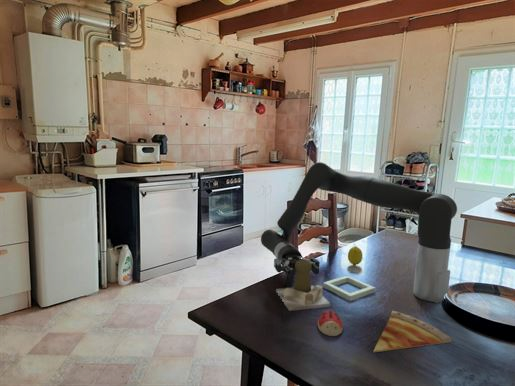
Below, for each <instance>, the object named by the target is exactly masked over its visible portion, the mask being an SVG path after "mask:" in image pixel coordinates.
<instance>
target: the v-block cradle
mask: <svg viewBox="0 0 515 386" xmlns="http://www.w3.org/2000/svg"><path fill="white" fill-rule="evenodd" d="M323 289H324V287H323V285H318V284H316V285H315V286H314V285H311V291H310V292H309V293H305V292H302V291H298V290H294V286H292V287H282V288H276V290H275V292H276V294H277V293H278V294H277V295H278V297H279V296H280V297H279V298H280V300H281V299H282V300H281V301H282V302H284V303H283V304H284V306H285V307H286V308H287V310H288V311H289V312H290V311H291V312H292V311H301V310H309V309H310V310H312V309H319V308H320V309H321V308H329V307H331V303H330V301H328V299H326V298H325V296H324V295H323Z"/></svg>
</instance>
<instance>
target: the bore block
mask: <svg viewBox="0 0 515 386" xmlns="http://www.w3.org/2000/svg"><path fill="white" fill-rule="evenodd" d="M345 283H349V284H352V285H354V286H356V287H358V288H360V289H359V290H358V289H357V290H356V291H353V292H348V291H347V290H345V289H342V288H341V287H338V286H339V285H342V284H345ZM322 286H323V289H326V290H328V291H329V292H332V293H333V294H335V295H338V296H340V297H342V298H343V299H345V300H347V301H350V302H351V301H353V300H357V299H359V298H362V297H365V296H368V295H370V294H374V293H376V287H374V286H372V285H370V284H368V283H365V282H363V281H361V280H359V279H357V278H355V277H352V276H351V275H344V276H341V277H338V278H334V279H331V280H328V281H327V280H326V281H324V282H322Z"/></svg>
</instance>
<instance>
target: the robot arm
mask: <svg viewBox="0 0 515 386" xmlns="http://www.w3.org/2000/svg"><path fill="white" fill-rule="evenodd" d="M318 189H319V190H322V191H326V192H333V193H337V194H342V195H345V196H348V197H351V198H352V199H355V200H358V201H361V202H363V203H366V204H370V205H373V206H376V207H381V208H385V209H395V210H397V209H398V210H405V211H409V212H410V211H411V212H414V213H417V214H418V218H417V219H418V220H417V221H418V223H417V236H418V241H417V242H418V243H417V251H416V260H415V261H416V262H415V270H414V280H413V291H412V293H413V295H414V296H415V297H417V298H419V299H421V300H423V301H428V302H433V303H435V304H438V303H440V302H443V301H444V300H443V299H444V295H445V294H446V293H448V294H449V287H450V278H451V270H450V269H449V262H450V261H449V260H450V254H451V246H452V239H451V226H452V219H453V218H454V217H455V216H456V215H457V213H458V206H457V203H456V202H455V200H454V199H453V198H451V197H450V196H449V195H447V194H443V193H435V192H429V191H424V190H423V191H422V190H417V189H413V188H410V187H407V186H404V185H401V184H398V183H394V182H391V181H387V180H386V179H385V180H384V179H381V178H376V177H373V176H363V175H362V176H361V175H359V176H353V175H349V174H348V175H347V174H345V173H342V172H339V171H336V170H335V169H333V168H332V167H330V166H329V165H328V164H327V163H324V162H322V161H321V162H316V163H314V164H312V165H311V166H310V167H309V169H308V170H307V172H306V174H305V176H304V178H303V179H302V182H301V184H300V186H299V187H298V189H297V191H296V193H295V195H294V197H293V199H292V200H291V202H290V204H289V205H288V206H287V207H286V209H285V210H284V212H283V214H281V216H280V218H279V219H278V220H277V223H276V225H277V226H278V228H280V229H281V231H282V234H280V233H278V232H277V231H276V230H273V229H266V230H265V231H263V233H261V236H260V242H261V245H262V246H263V247H264V248H266V249H267V250H268V251H270V252H271V253H272V254H273V256H274V257H275V258H274V259H273V267H274V269H275V271H276V272H277V273H280V274H281V273H282V272H283V274H286V276H288V277H289V278H291V277H293V270H296V269H295V263H296V262H297V261H299V260H307V261H309V262H310V263H311V265H312V268H311V272H312V273H313V274H314V275H315V276H316V275H317V276H318V275H319V273H320V261H319V260H318V259H317V258H315V257H314V256H309V258H306V257H303V255H302V253H301V252H300V251H299V249H297V248H296V247H295V246H294V244H292V243H290V239H291V236H292V234H293V232H294V230H296V229H295V228H296V227H297V226H298V224H300V223H301V220H302V219H303V217H304V215H305V213H306V210H307V208H308V204H309V202H310V200H311V198H312V196H313V195H314V194H315V192H317V190H318ZM442 300H443V301H442Z"/></svg>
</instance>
